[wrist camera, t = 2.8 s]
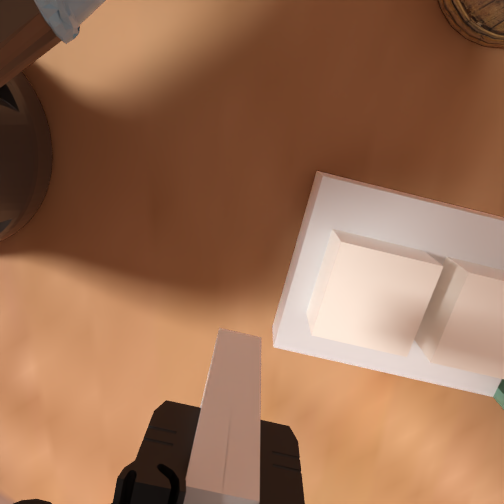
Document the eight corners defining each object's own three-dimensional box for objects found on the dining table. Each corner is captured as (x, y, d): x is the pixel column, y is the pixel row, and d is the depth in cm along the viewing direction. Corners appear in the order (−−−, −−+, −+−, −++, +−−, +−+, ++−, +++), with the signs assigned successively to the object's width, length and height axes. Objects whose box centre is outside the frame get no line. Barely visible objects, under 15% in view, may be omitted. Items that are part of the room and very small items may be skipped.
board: (272, 326, 31) (273, 347, 28) (316, 170, 28) (322, 176, 25) (472, 372, 32) (493, 396, 29) (540, 226, 28) (571, 237, 26)
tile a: (306, 313, 28) (311, 335, 25) (332, 228, 26) (341, 241, 23) (392, 333, 28) (406, 357, 25) (423, 250, 26) (443, 266, 23)
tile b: (413, 338, 28) (430, 362, 25) (446, 256, 26) (468, 272, 23) (496, 357, 28) (523, 384, 25) (535, 278, 26) (568, 296, 24)
